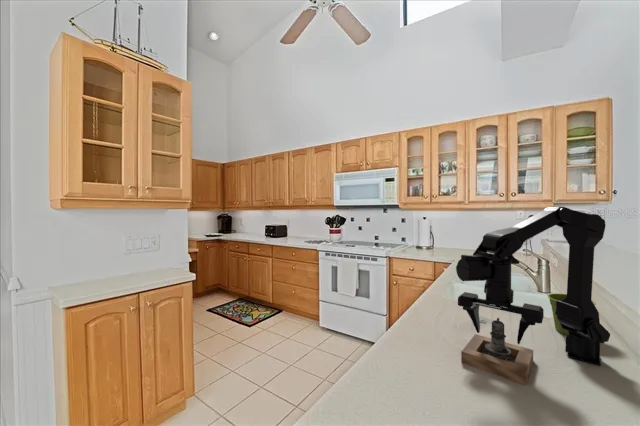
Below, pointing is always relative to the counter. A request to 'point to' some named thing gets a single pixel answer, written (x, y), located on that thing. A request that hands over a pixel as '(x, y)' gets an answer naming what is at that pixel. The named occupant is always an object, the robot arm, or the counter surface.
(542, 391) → the counter surface
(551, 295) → the plant pot
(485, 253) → the robot arm
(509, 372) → the well block
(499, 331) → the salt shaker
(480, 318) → the mounting bracket
